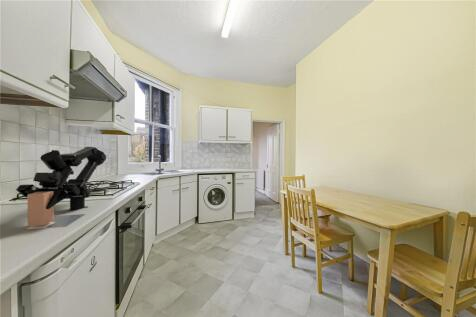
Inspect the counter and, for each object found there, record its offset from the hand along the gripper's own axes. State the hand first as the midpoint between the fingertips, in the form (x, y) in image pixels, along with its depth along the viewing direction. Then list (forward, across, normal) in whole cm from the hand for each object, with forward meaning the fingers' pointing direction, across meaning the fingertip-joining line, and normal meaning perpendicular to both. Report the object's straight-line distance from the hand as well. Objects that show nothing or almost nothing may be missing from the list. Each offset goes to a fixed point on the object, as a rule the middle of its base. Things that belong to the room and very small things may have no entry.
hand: (38, 209), depth 69 cm
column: (+3, 0, +5) cm, 6 cm away
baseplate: (+1, +3, +9) cm, 10 cm away
